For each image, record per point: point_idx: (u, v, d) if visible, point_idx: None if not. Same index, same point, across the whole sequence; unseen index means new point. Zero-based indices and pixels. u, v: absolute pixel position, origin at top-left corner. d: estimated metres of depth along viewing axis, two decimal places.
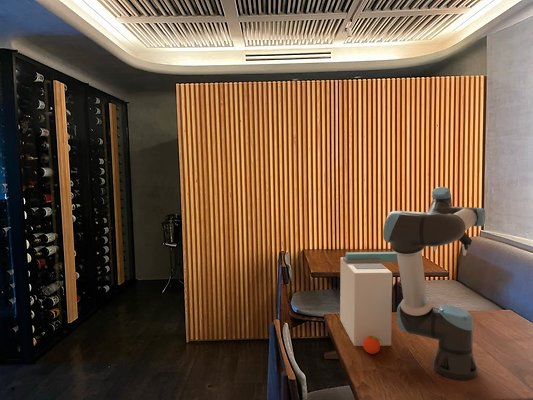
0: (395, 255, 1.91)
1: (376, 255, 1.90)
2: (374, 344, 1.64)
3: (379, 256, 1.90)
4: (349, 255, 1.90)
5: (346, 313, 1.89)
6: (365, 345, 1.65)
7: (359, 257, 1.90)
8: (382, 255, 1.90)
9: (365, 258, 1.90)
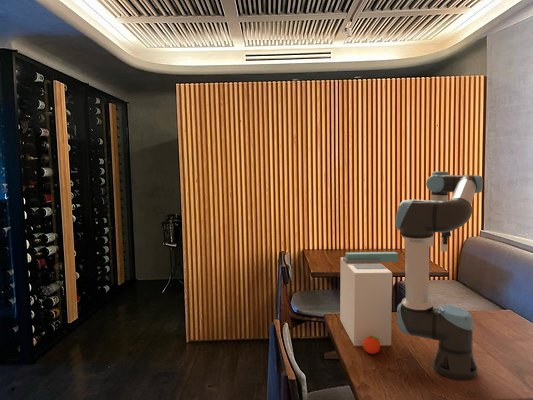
0: (395, 255, 1.91)
1: (376, 255, 1.90)
2: (374, 344, 1.64)
3: (379, 256, 1.90)
4: (349, 255, 1.90)
5: (346, 313, 1.89)
6: (365, 345, 1.65)
7: (359, 257, 1.90)
8: (382, 255, 1.90)
9: (365, 258, 1.90)
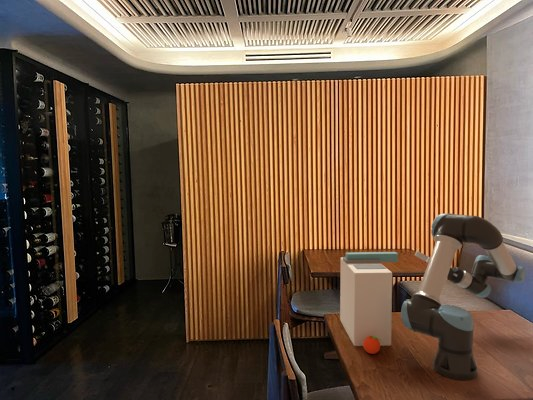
0: (395, 255, 1.91)
1: (376, 255, 1.90)
2: (374, 344, 1.64)
3: (379, 256, 1.90)
4: (349, 255, 1.90)
5: (346, 313, 1.89)
6: (365, 345, 1.65)
7: (359, 257, 1.90)
8: (382, 255, 1.90)
9: (365, 258, 1.90)
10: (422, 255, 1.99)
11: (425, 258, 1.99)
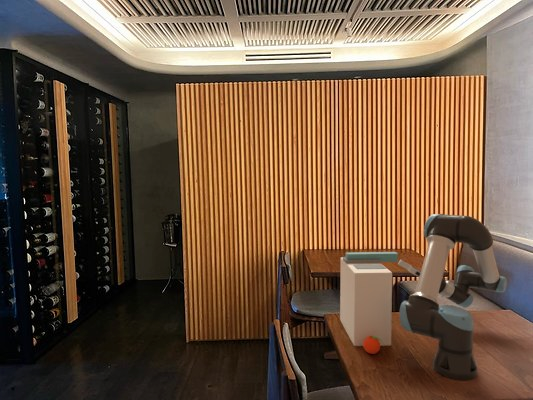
0: (395, 255, 1.91)
1: (376, 255, 1.90)
2: (374, 344, 1.64)
3: (379, 256, 1.90)
4: (349, 255, 1.90)
5: (346, 313, 1.89)
6: (365, 345, 1.65)
7: (359, 257, 1.90)
8: (382, 255, 1.90)
9: (365, 258, 1.90)
10: (405, 264, 2.00)
11: (408, 267, 2.00)
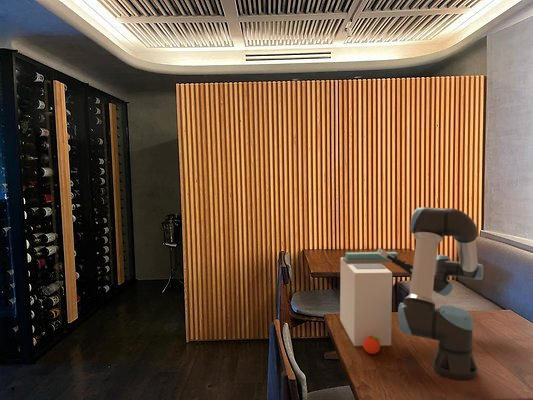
0: (395, 255, 1.91)
1: (376, 255, 1.90)
2: (374, 344, 1.64)
3: (379, 256, 1.90)
4: (349, 255, 1.90)
5: (346, 313, 1.89)
6: (365, 345, 1.65)
7: (359, 257, 1.90)
8: None
9: (365, 258, 1.90)
10: None
11: None
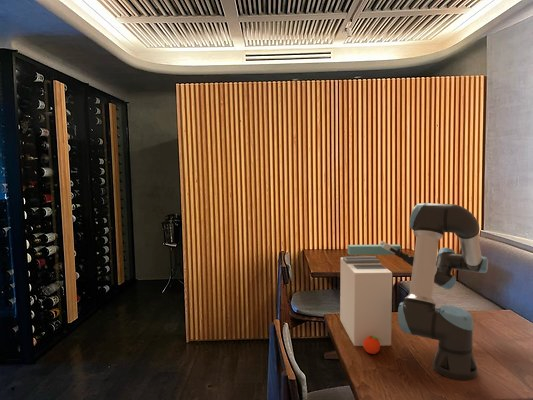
0: (398, 248, 1.88)
1: (379, 247, 1.87)
2: (374, 344, 1.64)
3: (382, 248, 1.87)
4: (351, 247, 1.87)
5: (346, 313, 1.89)
6: (365, 345, 1.65)
7: (361, 250, 1.87)
8: None
9: (367, 250, 1.87)
10: None
11: None
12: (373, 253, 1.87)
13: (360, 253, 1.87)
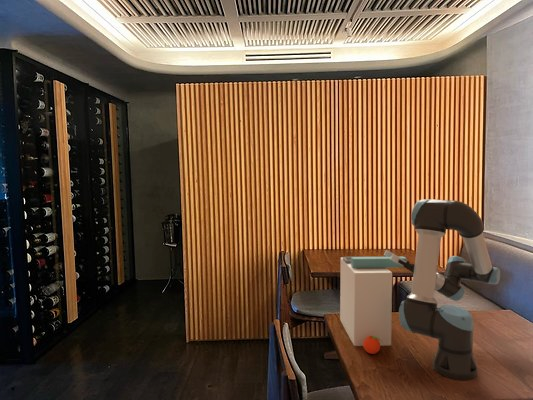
0: None
1: (384, 260, 1.79)
2: (374, 344, 1.64)
3: (387, 261, 1.79)
4: (355, 260, 1.79)
5: (346, 313, 1.89)
6: (365, 345, 1.65)
7: (366, 262, 1.79)
8: (390, 260, 1.79)
9: (372, 263, 1.79)
10: (392, 255, 1.85)
11: None
12: (378, 266, 1.79)
13: (364, 266, 1.79)
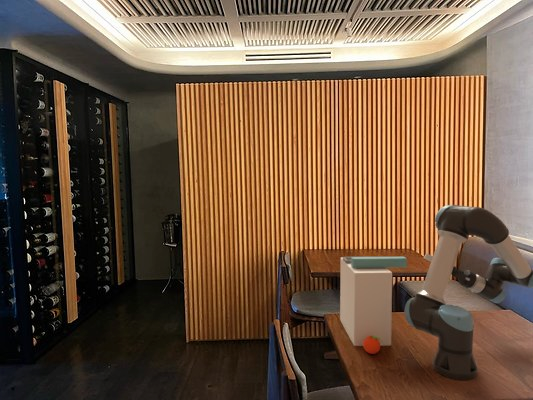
0: (404, 260, 1.79)
1: (384, 260, 1.79)
2: (374, 344, 1.64)
3: (387, 261, 1.79)
4: (355, 260, 1.79)
5: (346, 313, 1.89)
6: (365, 345, 1.65)
7: (366, 262, 1.79)
8: (390, 260, 1.79)
9: (372, 263, 1.79)
10: (432, 258, 1.88)
11: None
12: (378, 266, 1.79)
13: (364, 266, 1.79)
